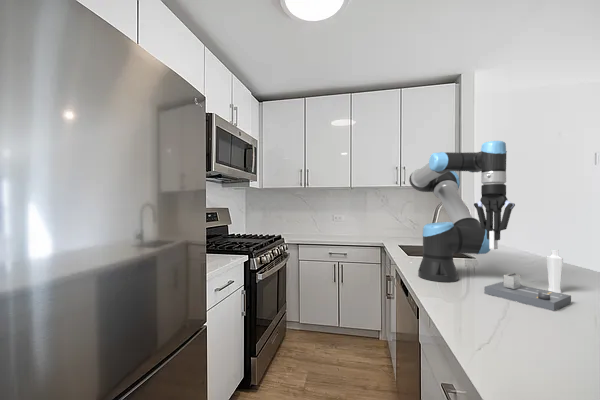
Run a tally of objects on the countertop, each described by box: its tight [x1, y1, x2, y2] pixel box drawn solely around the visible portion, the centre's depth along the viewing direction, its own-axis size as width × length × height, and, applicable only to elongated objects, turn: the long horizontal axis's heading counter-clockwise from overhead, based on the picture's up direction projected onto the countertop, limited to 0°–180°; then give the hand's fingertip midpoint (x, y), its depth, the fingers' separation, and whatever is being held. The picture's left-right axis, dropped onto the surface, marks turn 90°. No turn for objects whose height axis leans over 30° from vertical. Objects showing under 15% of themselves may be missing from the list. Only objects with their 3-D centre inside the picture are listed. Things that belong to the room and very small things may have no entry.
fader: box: [503, 272, 521, 289], centre depth 99 cm, size 3×5×4 cm, turn 121°
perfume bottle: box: [546, 249, 564, 294], centre depth 104 cm, size 5×4×15 cm
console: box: [483, 281, 572, 312], centre depth 96 cm, size 19×14×4 cm
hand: (493, 248), depth 104 cm, fingers closed
